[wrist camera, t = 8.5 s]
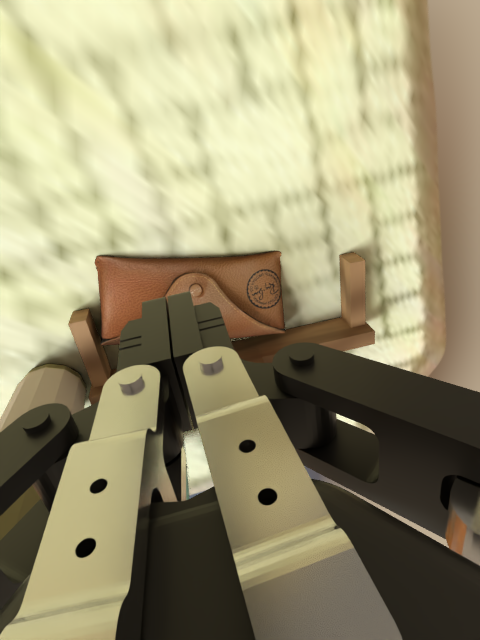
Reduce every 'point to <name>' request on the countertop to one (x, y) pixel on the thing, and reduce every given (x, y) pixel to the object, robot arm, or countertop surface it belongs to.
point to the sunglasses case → (194, 290)
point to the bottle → (31, 393)
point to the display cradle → (257, 349)
